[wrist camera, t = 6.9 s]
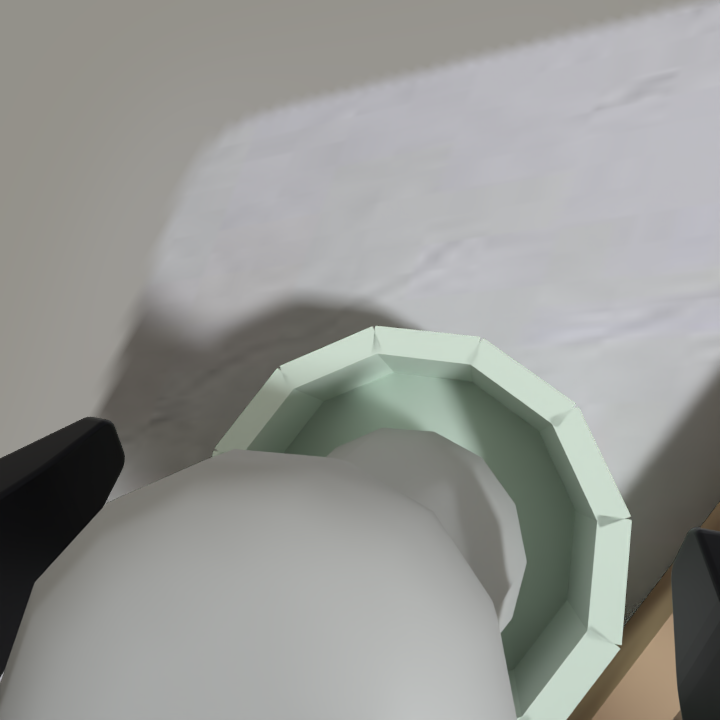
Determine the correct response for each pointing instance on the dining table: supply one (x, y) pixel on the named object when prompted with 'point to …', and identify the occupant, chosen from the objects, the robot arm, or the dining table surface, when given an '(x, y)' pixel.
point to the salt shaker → (283, 593)
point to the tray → (642, 662)
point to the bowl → (506, 461)
